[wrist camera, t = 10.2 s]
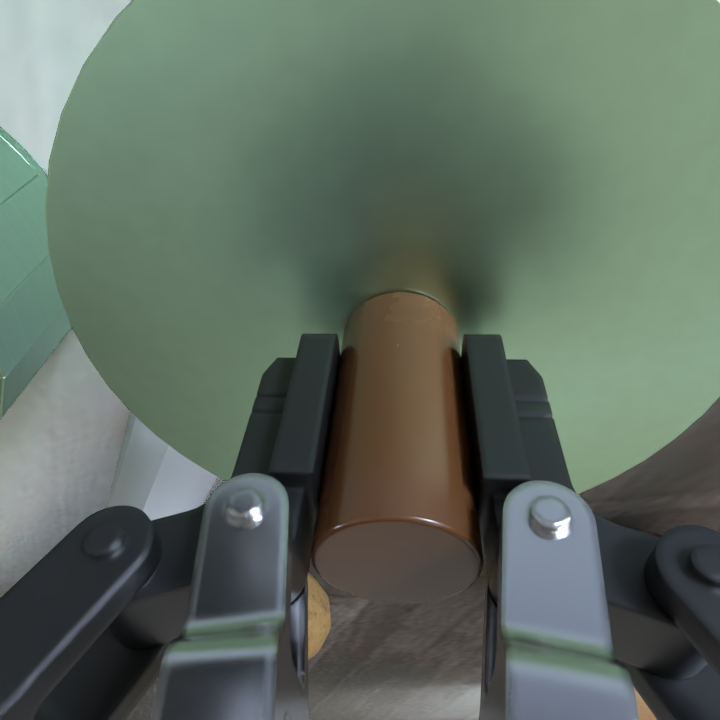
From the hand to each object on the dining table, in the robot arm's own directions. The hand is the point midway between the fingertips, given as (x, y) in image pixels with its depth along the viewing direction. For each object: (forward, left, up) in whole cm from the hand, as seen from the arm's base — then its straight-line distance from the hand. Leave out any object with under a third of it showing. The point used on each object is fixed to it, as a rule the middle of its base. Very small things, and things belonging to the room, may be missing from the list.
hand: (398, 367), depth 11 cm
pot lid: (0, 0, -2) cm, 2 cm away
